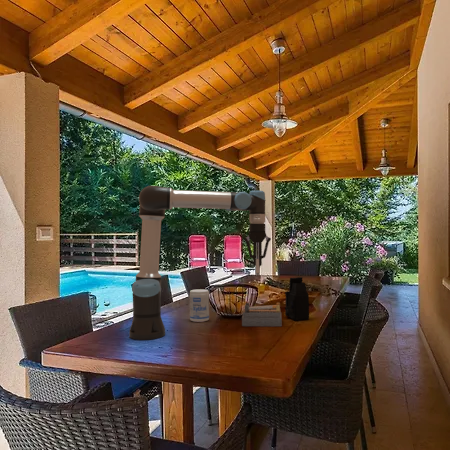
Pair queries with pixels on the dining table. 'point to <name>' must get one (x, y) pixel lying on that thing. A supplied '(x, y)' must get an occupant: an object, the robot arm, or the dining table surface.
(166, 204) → the robot arm
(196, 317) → the supplement tub
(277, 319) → the heatsink block
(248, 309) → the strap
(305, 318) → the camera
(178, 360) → the dining table surface
